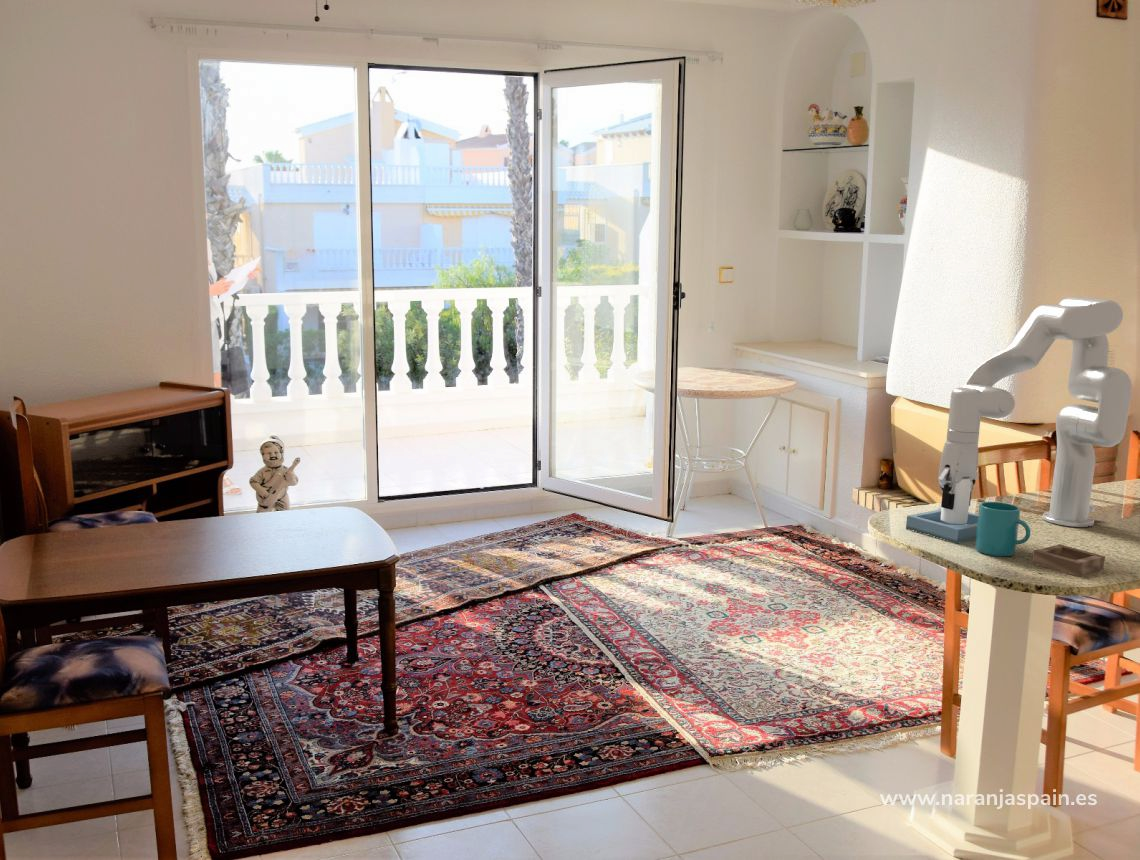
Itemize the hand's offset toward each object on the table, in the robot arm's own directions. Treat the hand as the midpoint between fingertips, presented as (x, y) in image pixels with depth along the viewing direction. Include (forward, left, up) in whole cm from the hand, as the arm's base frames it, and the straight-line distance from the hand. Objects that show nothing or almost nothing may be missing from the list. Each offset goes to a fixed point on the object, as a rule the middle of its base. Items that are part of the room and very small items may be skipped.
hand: (955, 506), depth 272 cm
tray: (0, 0, -7) cm, 7 cm away
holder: (+2, +32, -7) cm, 33 cm away
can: (0, 0, -4) cm, 4 cm away
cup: (+7, +18, -7) cm, 20 cm away
